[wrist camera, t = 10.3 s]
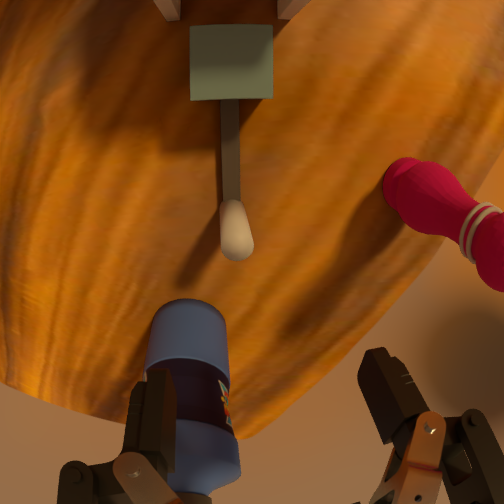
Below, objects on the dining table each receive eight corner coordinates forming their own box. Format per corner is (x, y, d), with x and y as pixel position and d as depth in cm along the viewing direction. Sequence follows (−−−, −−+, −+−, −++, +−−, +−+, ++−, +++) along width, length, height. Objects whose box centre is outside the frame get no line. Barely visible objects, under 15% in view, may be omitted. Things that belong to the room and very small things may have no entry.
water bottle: (152, 349, 37) (133, 535, 15) (151, 292, 33) (113, 521, 11) (221, 356, 39) (238, 541, 17) (232, 302, 35) (261, 529, 13)
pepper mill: (377, 218, 31) (498, 339, 14) (377, 154, 28) (534, 243, 10) (427, 209, 32) (548, 307, 14) (429, 150, 28) (576, 224, 11)
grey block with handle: (194, 39, 21) (185, 15, 14) (262, 37, 22) (281, 14, 15) (201, 221, 29) (197, 263, 22) (262, 218, 30) (277, 258, 23)
